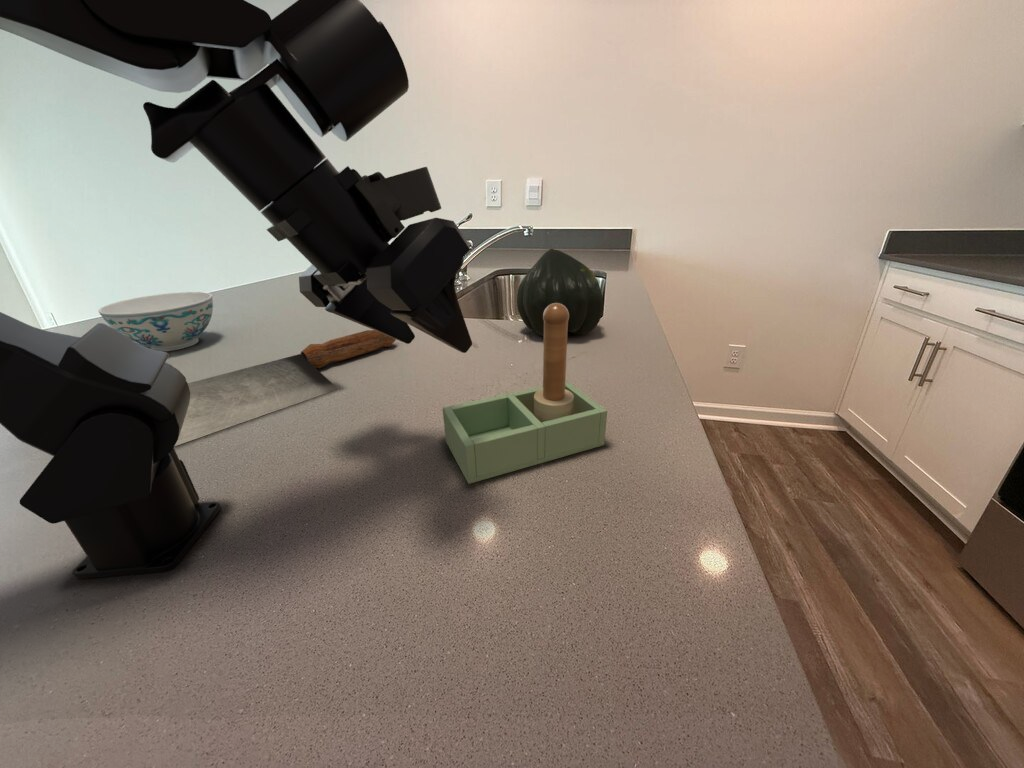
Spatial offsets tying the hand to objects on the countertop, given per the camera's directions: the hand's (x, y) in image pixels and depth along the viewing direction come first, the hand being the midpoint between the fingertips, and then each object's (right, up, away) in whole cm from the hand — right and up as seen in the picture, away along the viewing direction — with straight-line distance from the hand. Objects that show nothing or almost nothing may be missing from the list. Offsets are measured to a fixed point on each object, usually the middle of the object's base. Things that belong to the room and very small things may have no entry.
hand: (437, 344), depth 36 cm
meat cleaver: (-22, -4, +20) cm, 30 cm away
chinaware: (-53, +3, +35) cm, 64 cm away
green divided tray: (+8, -10, +5) cm, 14 cm away
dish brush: (+11, -8, +6) cm, 15 cm away
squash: (+15, +6, +38) cm, 41 cm away
